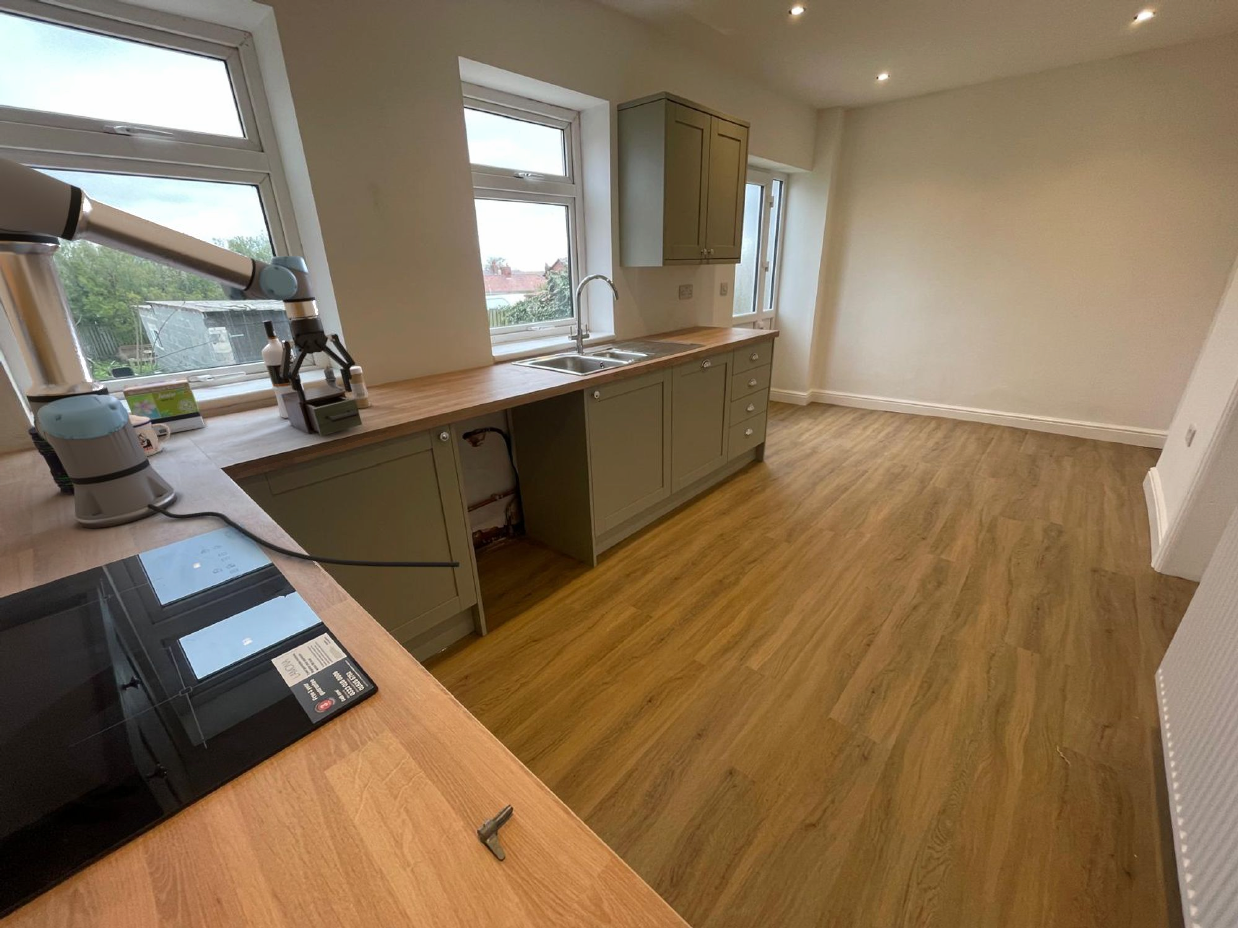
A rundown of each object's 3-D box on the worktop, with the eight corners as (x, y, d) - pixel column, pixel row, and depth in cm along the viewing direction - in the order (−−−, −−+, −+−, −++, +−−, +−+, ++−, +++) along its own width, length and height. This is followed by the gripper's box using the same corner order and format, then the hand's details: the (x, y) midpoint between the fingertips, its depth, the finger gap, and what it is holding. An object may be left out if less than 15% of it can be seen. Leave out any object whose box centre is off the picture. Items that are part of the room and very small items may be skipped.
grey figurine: (339, 400, 178) (330, 367, 173) (323, 401, 178) (314, 368, 174) (348, 396, 184) (339, 363, 179) (332, 396, 184) (323, 364, 179)
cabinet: (352, 422, 154) (344, 391, 150) (308, 433, 145) (298, 401, 142) (333, 414, 163) (325, 385, 159) (290, 424, 154) (281, 394, 150)
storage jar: (74, 481, 120) (43, 422, 114) (126, 473, 123) (98, 415, 117) (51, 498, 111) (15, 435, 105) (107, 489, 115) (76, 427, 109)
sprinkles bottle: (372, 404, 172) (362, 365, 166) (369, 408, 168) (359, 368, 162) (358, 405, 171) (347, 366, 166) (354, 409, 167) (344, 369, 162)
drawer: (369, 427, 145) (363, 401, 142) (328, 439, 137) (320, 412, 134) (343, 416, 156) (336, 392, 153) (303, 427, 148) (295, 401, 145)
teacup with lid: (116, 463, 130) (95, 420, 125) (123, 453, 137) (104, 412, 132) (174, 451, 136) (157, 410, 131) (178, 442, 143) (162, 403, 138)
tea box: (142, 440, 147) (120, 391, 141) (143, 432, 154) (122, 385, 148) (206, 427, 156) (187, 380, 150) (203, 420, 163) (186, 375, 157)
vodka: (295, 410, 169) (266, 318, 158) (319, 410, 168) (292, 318, 156) (273, 418, 161) (241, 323, 149) (298, 419, 159) (267, 322, 147)
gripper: (344, 312, 145) (362, 385, 154) (248, 323, 129) (275, 404, 137) (355, 313, 141) (374, 388, 149) (257, 325, 124) (284, 408, 133)
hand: (326, 396), depth 143 cm, fingers open, 12 cm apart
